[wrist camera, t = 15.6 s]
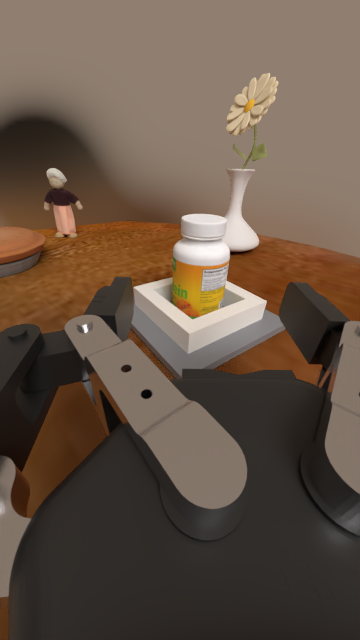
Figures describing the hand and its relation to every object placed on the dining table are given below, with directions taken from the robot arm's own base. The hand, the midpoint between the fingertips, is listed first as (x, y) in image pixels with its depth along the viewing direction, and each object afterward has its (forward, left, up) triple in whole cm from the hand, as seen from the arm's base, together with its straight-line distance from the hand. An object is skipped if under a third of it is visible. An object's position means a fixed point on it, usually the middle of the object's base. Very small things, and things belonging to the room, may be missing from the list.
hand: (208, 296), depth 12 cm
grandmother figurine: (-50, +4, -9) cm, 51 cm away
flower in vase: (-25, +29, -9) cm, 39 cm away
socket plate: (-9, +7, -9) cm, 14 cm away
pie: (-38, -10, -9) cm, 40 cm away
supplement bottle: (-9, +7, -8) cm, 14 cm away
